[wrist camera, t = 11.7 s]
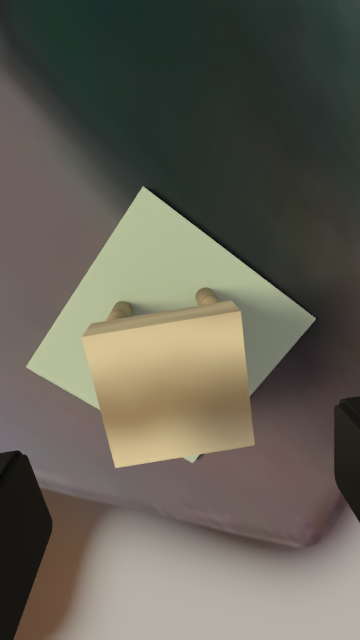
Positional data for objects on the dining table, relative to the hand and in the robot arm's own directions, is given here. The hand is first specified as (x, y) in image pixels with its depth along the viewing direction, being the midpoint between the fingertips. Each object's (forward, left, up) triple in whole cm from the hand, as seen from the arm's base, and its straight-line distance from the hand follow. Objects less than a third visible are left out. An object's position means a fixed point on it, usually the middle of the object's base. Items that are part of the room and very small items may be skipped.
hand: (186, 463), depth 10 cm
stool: (+1, 0, -12) cm, 12 cm away
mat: (+1, 0, -13) cm, 13 cm away
